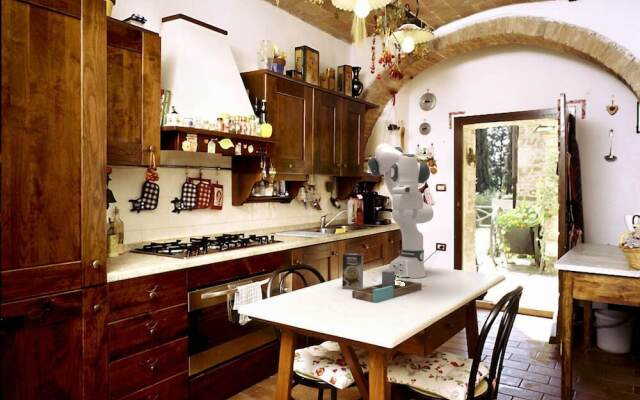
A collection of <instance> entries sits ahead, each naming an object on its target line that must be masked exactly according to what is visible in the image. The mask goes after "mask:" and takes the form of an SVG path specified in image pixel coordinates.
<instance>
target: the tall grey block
mask: <svg viewBox="0 0 640 400" xmlns="http://www.w3.org/2000/svg"><path fill="white" fill-rule="evenodd" d="M395 277H396V276H395V271H390V270H389V269H386V270H382V271H381V284H382V288H384V287H388V286H393V290H394V289H395V280H396V279H395Z"/></svg>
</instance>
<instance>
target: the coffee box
mask: <svg viewBox="0 0 640 400" xmlns="http://www.w3.org/2000/svg"><path fill="white" fill-rule="evenodd" d="M363 279H364V253H355V252H354V253H353V252H345V253H343V254H342V279H341V280H342V285H341V287H342V289H346V290H347V289H348V290H357V289H362V288H364V284H363V283H364V280H363Z"/></svg>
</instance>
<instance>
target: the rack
mask: <svg viewBox="0 0 640 400" xmlns="http://www.w3.org/2000/svg"><path fill="white" fill-rule="evenodd" d="M395 280H396V279H395ZM396 281H401V282H404V283H405V286H400V285H395V289H394V290H393V286H388V287H384V288H382V283H379V284H375V285H374V284H373V285H370V286H367V287H362V289H352V291H351V298H352V299H356V300H360V301H365V302H370V303H375V304H376V303H380V302H382V301H387V300H389V299H395V298H397V297H400V296H401V297H402V296H404V295H405V296H406V295H408V294H411V293H415V292H418V291H419V292H420V291H421V290H422V283H421V282H417V281H416V282H415V281H410V280H404V279H397V280H396Z"/></svg>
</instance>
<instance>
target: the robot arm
mask: <svg viewBox="0 0 640 400" xmlns="http://www.w3.org/2000/svg"><path fill="white" fill-rule="evenodd" d="M374 153H375V155H374V156H373V157H371V158H369V160H368V162H367V165H366V166H367V170H368V172H369V173H370V174H371V175H372V176H373V177H379V176H381V175H383V174H384V175H383V179H384V182H385V186H386V188H387V190H388V192H389V193H390V195H391V197H392V201H391V202H392V211H391V217H392V220H393V221H394V222H395V224H397V225H398V227H399V229H400V232H401V241H402V242H401V243H402V245H401V247H402V248H401V249H400V250H398V251H397V253H399V256H398V257H396V258H394V259H393V260H392V261H391V262H390V263H389V265H388V270H390V271H395V275H396V276H395V277H397V276H402V277H410V278H409V279H411V278H412V279H420V278H426V277H427V275H426V274H427V273H426V270H425V263H424V262H425V261H424V259H425V250H424V235H423V234H422V232H421V231H419V229H418V227H417V225H418V224H425V223H428V222H430V221H432V219H433V218H434V212H435V211H434V209H433V207H432V206H431V205H430V204H427V203H426V202H424V198H423V193H422V192H421V190H420V189H419V184H424V183H426V182H427V181H428V180H429V178H430V175H431V169H430V166H428V164H427V163H426V162H424V161H423V162H421V161H419V160H418V157H417V155H415V154H414V153H406V152H405V151H404V150H403V149H402V148H401V147H399V146H395V147H394V146H393V145H391V144H389V143H387V142H384V143H379V144H378V145H377V146H376V147H375V151H374Z"/></svg>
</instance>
